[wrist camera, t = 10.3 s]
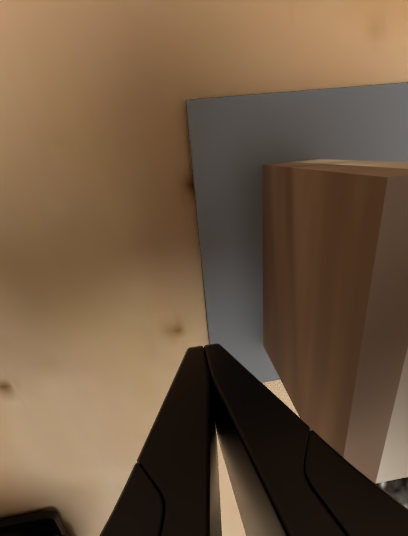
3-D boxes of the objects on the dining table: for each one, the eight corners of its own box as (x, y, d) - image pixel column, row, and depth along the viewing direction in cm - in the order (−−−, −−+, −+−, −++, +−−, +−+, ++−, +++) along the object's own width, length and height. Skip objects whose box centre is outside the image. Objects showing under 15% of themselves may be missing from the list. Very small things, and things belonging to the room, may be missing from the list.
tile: (263, 345, 15) (337, 491, 8) (262, 164, 11) (387, 177, 5) (306, 338, 15) (411, 475, 9) (318, 159, 12) (507, 165, 5)
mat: (213, 384, 16) (214, 390, 16) (185, 101, 11) (186, 99, 10) (440, 347, 17) (446, 351, 17) (517, 75, 12) (528, 73, 12)
